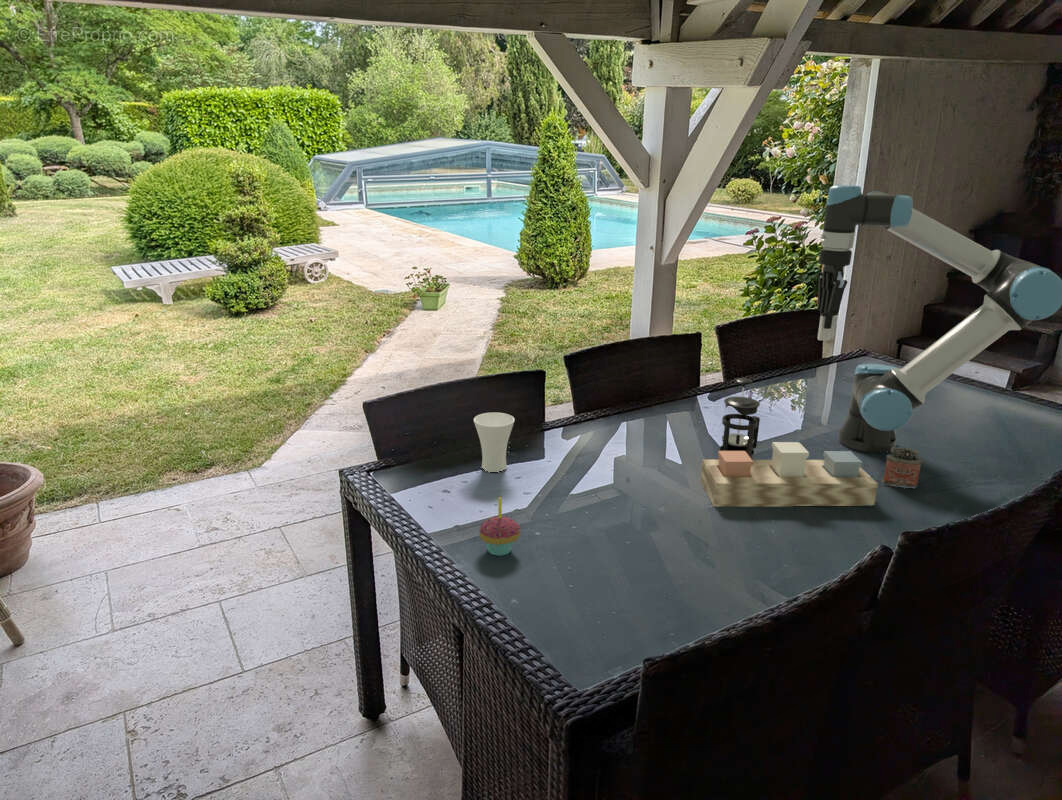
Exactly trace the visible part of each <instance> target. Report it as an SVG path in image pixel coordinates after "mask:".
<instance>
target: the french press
mask: <svg viewBox="0 0 1062 800" xmlns="http://www.w3.org/2000/svg"><path fill="white" fill-rule="evenodd" d="M735 382H736V383H739V384H741V388H742V391H741V392H742V393H741V396H729V397H726V398H725V399H724V404H725V408H729V407H731V408H733V409H734V410H736V411H737V413H729V414H725V415H723V416H722V421H721V424H722V425H723V426H724V429H723V435H722V436H721V440H722V445H720V446H719V450H718V451H746V453H747V454H748V455H749V457H750V458H751V459H752V460H754V454H755V450H754V449H757V445H758V438H759V437H758V436H759V429H760V421H761V418H760V417H759V416H756V415H755V414H757V412H758V407H760V402H759V401H758V400H756V399H754V398H750V397H746V396H744V392H745V388H746V385H749V384H753V380H752V379H750V378H744V377H740V378H736V379H735ZM752 415H753V416H752ZM732 419H733V420H734V419H735V420H736V419H737V420H738V424H737V423H736V424H735V423H731V420H732ZM741 420H746V421H748V424H747V425H745V424H744V425H743V424H741V422H742V421H741ZM731 429H732V430H736V431H737V433H730V430H731ZM740 431H747V434H743V433H740ZM717 460H719V456H718V455H717Z"/></svg>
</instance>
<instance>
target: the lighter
mask: <svg viewBox="0 0 1062 800" xmlns="http://www.w3.org/2000/svg"><path fill="white" fill-rule="evenodd" d="M891 453H892V454H891ZM918 456H919V450H915V449H911V448H910V447H904V448H903V447H897V446H895V447H892V448H891V451H890V453H889V454H887V455H886V463H885V468H884V475H883V478H882V481H881V482H883V483H885V484H889V485H896V486H906V487H916V486H917V487H918V480H919V476H920V471H921V465H922V464H923V459H922V458H920V457H918Z"/></svg>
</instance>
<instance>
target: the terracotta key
mask: <svg viewBox="0 0 1062 800" xmlns="http://www.w3.org/2000/svg"><path fill="white" fill-rule="evenodd" d="M718 456H719V464H718V469H719V470H720V472H721V474H722V475H723V477H750V471H751V466H753V461H752V459H751V458H750V457H749V455H748V454H747V453H746V451H719V450H718V452H717V457H718Z"/></svg>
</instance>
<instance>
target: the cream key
mask: <svg viewBox="0 0 1062 800" xmlns="http://www.w3.org/2000/svg"><path fill="white" fill-rule="evenodd" d="M771 448H772V455H771V460H772V462H771V468H772V469H773V470H774V471H775V473H776V474H777V475H778V476H779V477H804V473H805V466H806V460H808V459H807V458H809V457H810V452H809V451H808V450H807V449H806V448H805V447H804V445H802V443H800V442H797V441H795V442H793V441H789V442H788V441H783V442H782V441H772V442H771Z"/></svg>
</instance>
